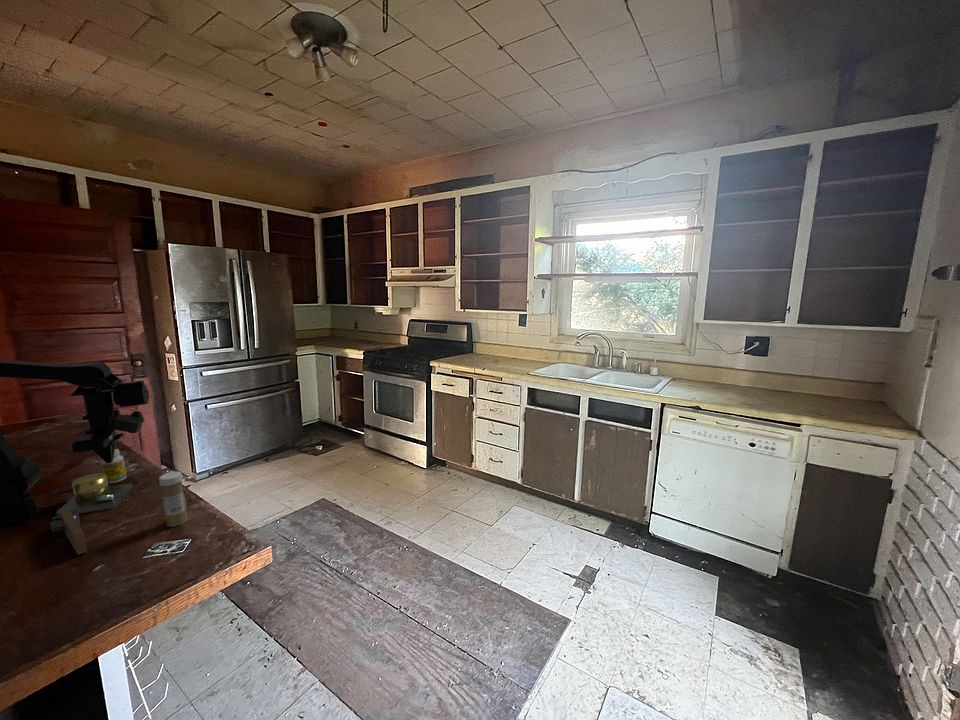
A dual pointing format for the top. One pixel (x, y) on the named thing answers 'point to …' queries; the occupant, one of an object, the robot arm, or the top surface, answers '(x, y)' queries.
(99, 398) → the robot arm
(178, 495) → the sprinkles bottle
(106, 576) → the top surface
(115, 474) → the supplement bottle
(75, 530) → the brown bar with knob
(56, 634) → the top surface
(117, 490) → the plate
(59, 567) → the top surface
